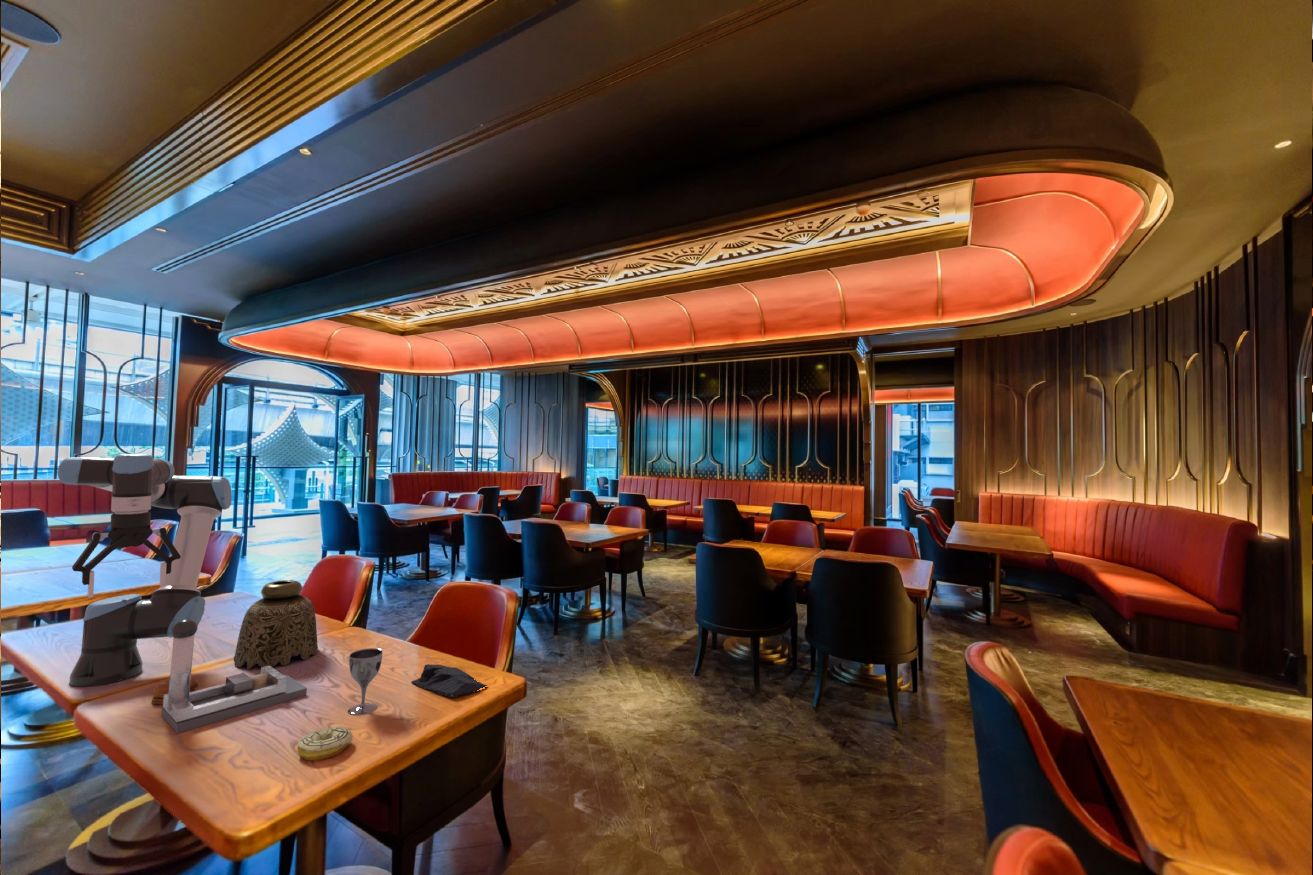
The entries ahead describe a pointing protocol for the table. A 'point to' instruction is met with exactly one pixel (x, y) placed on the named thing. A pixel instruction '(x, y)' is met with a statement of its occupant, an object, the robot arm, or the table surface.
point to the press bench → (235, 707)
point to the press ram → (180, 687)
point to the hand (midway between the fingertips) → (127, 591)
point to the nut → (259, 681)
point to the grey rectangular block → (238, 684)
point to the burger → (164, 689)
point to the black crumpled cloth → (447, 680)
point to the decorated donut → (324, 743)
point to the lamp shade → (277, 627)
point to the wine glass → (364, 675)
